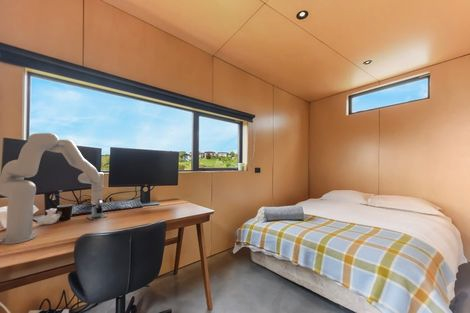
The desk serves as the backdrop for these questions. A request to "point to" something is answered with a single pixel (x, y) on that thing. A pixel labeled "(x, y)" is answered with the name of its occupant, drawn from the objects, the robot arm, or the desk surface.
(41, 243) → the desk surface
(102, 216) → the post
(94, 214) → the cap
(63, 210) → the coffee mug
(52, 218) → the duck figurine
